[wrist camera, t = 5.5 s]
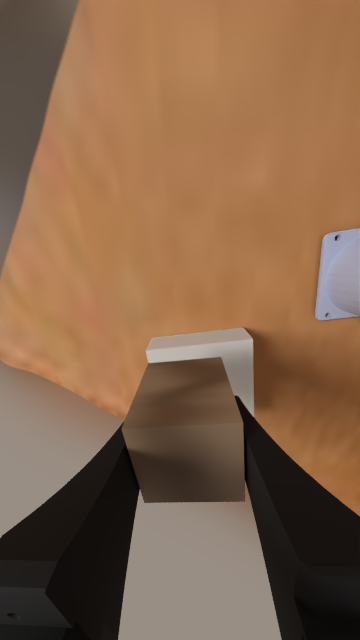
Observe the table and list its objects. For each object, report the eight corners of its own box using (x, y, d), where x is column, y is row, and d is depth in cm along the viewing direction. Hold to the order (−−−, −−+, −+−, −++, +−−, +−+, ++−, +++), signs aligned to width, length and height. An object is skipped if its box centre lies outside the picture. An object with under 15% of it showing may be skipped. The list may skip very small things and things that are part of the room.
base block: (243, 327, 18) (253, 339, 15) (245, 401, 21) (254, 423, 19) (152, 337, 19) (145, 350, 16) (166, 407, 22) (163, 428, 19)
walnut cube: (221, 356, 12) (243, 422, 7) (224, 414, 13) (245, 501, 8) (148, 363, 12) (121, 429, 7) (160, 418, 13) (144, 502, 9)
